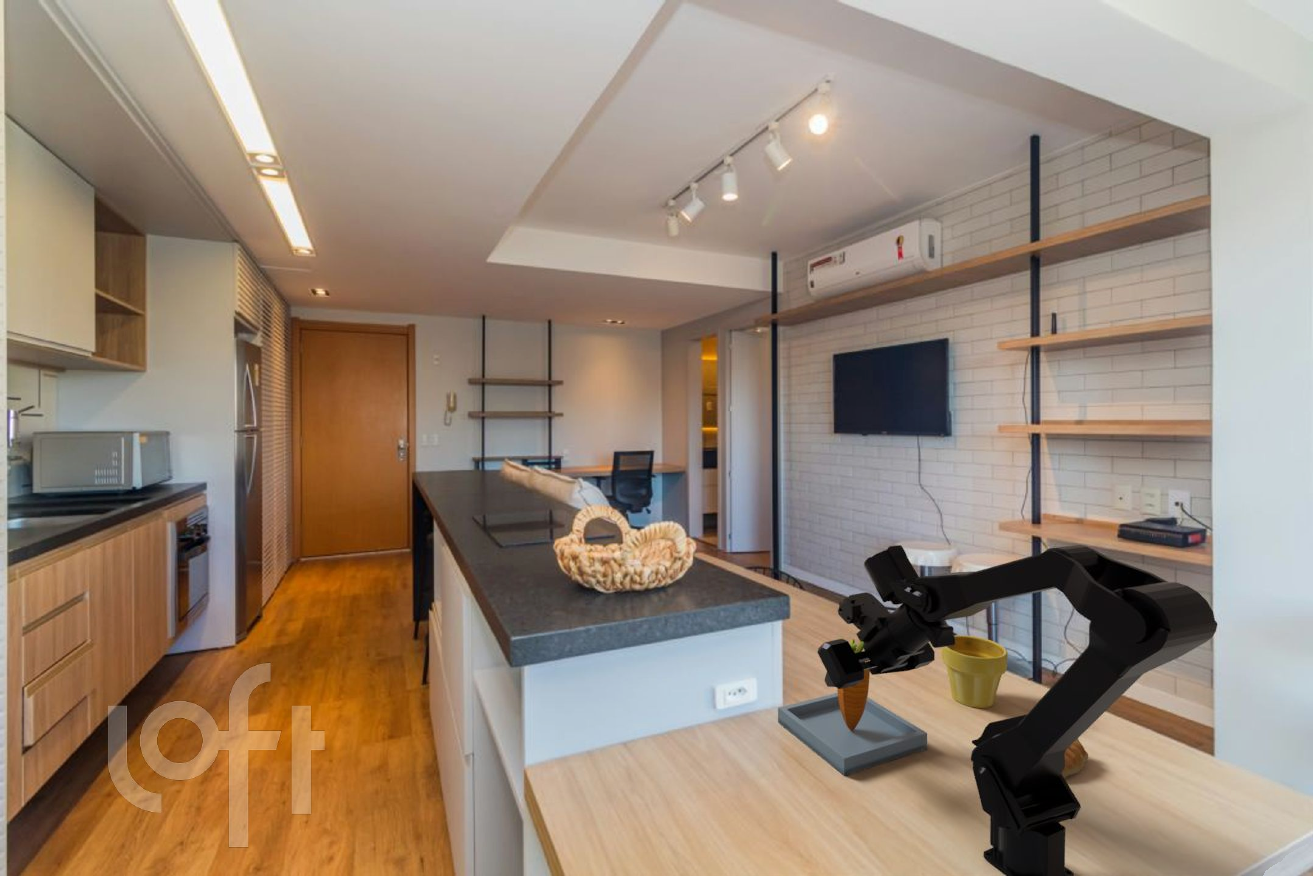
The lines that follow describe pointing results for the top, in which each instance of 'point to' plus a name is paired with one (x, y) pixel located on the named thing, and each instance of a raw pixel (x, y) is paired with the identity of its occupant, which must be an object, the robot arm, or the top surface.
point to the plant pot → (974, 669)
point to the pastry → (1074, 759)
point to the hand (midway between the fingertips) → (849, 677)
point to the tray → (851, 733)
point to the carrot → (854, 695)
